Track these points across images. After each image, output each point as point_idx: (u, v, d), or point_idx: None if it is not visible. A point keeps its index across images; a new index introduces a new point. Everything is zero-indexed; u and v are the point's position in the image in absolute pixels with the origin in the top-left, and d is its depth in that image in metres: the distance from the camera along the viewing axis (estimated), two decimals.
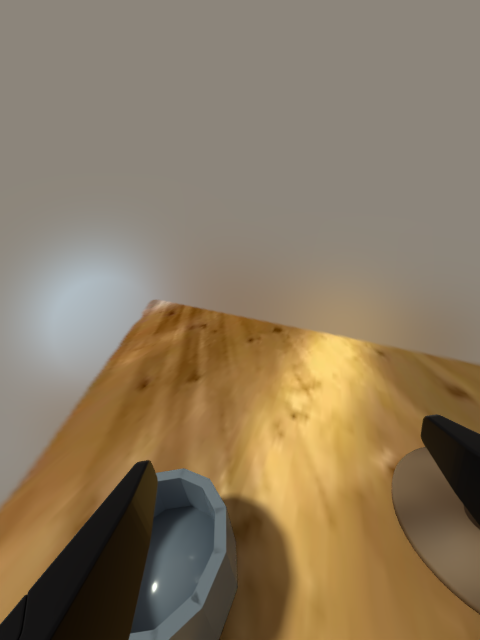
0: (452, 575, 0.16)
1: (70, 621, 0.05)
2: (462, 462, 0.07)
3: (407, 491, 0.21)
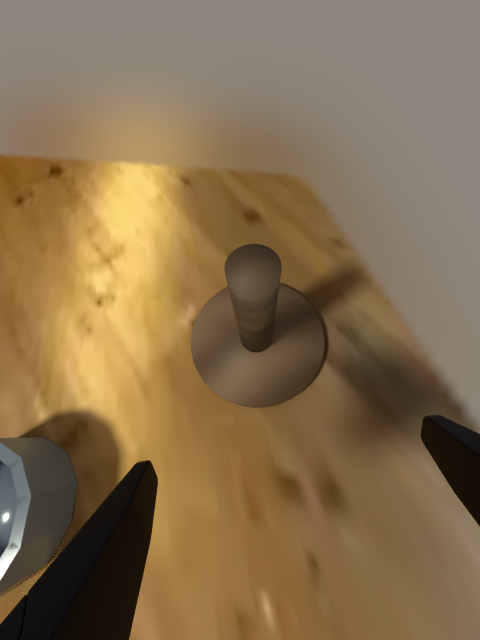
0: (227, 393, 0.22)
1: (70, 621, 0.05)
2: (462, 462, 0.07)
3: (202, 342, 0.24)
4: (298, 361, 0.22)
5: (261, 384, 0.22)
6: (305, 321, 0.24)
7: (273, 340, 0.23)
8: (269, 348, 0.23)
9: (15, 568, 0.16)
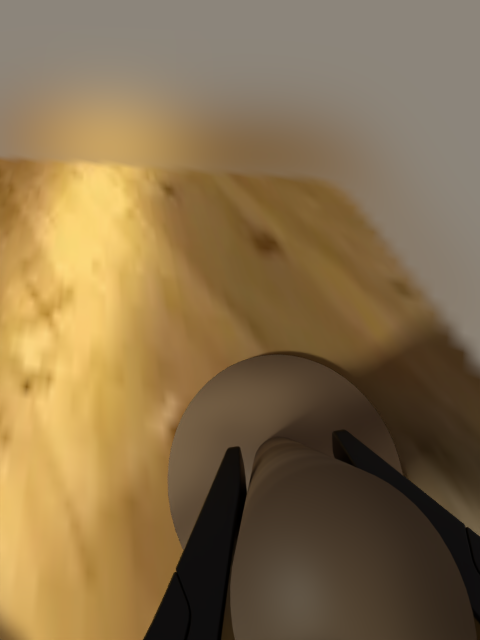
0: None
1: (224, 597, 0.05)
2: None
3: (187, 474, 0.14)
4: None
5: None
6: (365, 437, 0.14)
7: None
8: None
9: None
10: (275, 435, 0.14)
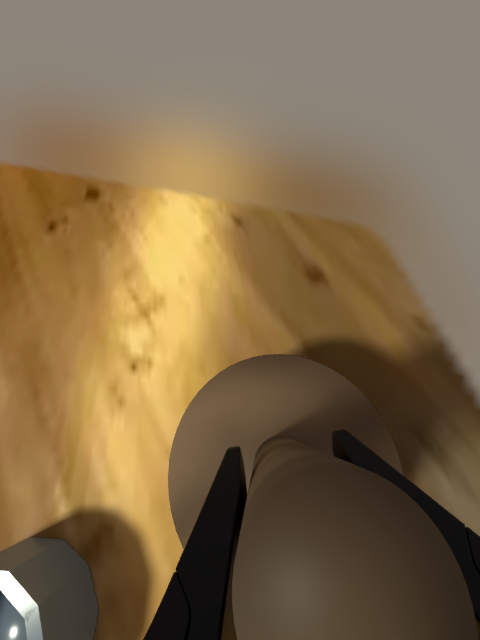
0: None
1: (224, 598, 0.05)
2: None
3: (188, 474, 0.14)
4: None
5: None
6: (365, 437, 0.14)
7: None
8: None
9: None
10: (275, 435, 0.14)
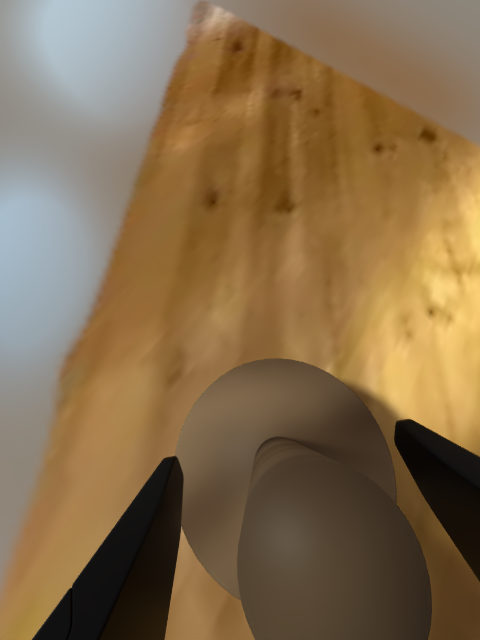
0: (233, 581, 0.13)
1: (116, 614, 0.05)
2: (429, 467, 0.07)
3: (192, 472, 0.15)
4: None
5: None
6: (359, 437, 0.15)
7: None
8: None
9: None
10: (274, 435, 0.15)
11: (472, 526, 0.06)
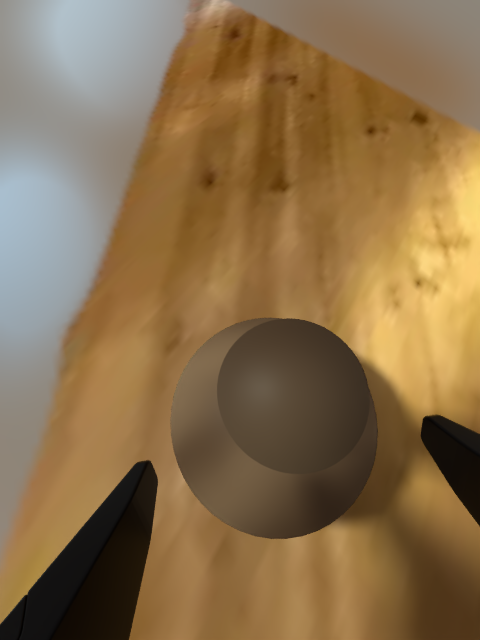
0: (226, 511, 0.14)
1: (70, 621, 0.05)
2: (462, 462, 0.07)
3: (188, 418, 0.16)
4: None
5: (280, 496, 0.14)
6: None
7: None
8: None
9: None
10: None
11: None
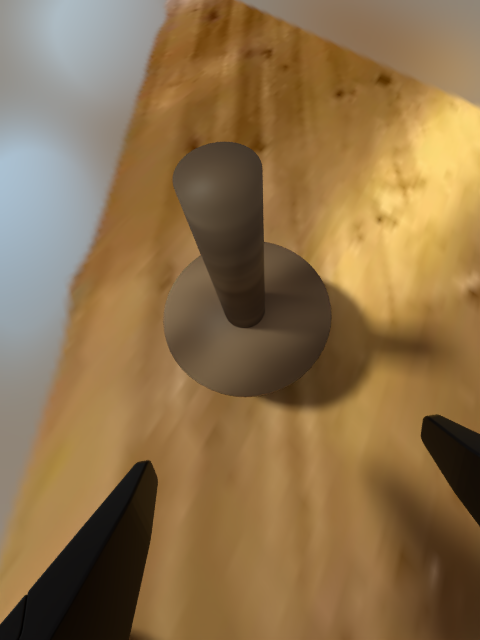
0: (209, 380, 0.17)
1: (70, 621, 0.05)
2: (462, 462, 0.07)
3: (177, 319, 0.19)
4: (299, 335, 0.18)
5: (253, 367, 0.17)
6: (305, 286, 0.19)
7: (266, 312, 0.18)
8: (261, 322, 0.18)
9: None
10: None
11: None
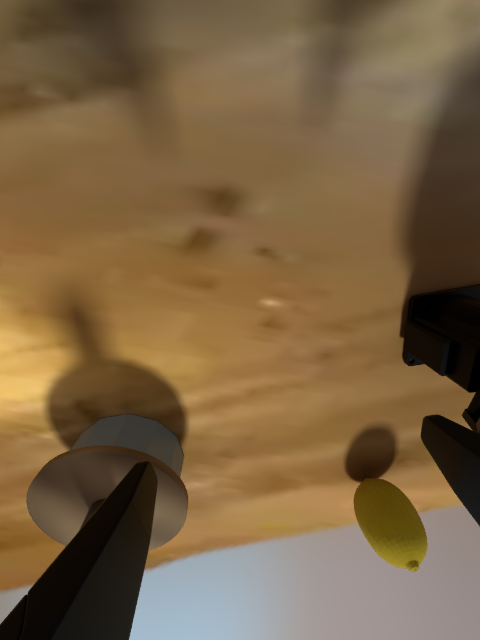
0: (180, 515, 0.21)
1: (70, 621, 0.05)
2: (462, 462, 0.07)
3: None
4: (114, 473, 0.19)
5: (157, 494, 0.20)
6: (61, 477, 0.19)
7: (104, 497, 0.20)
8: None
9: None
10: None
11: None
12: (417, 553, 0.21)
